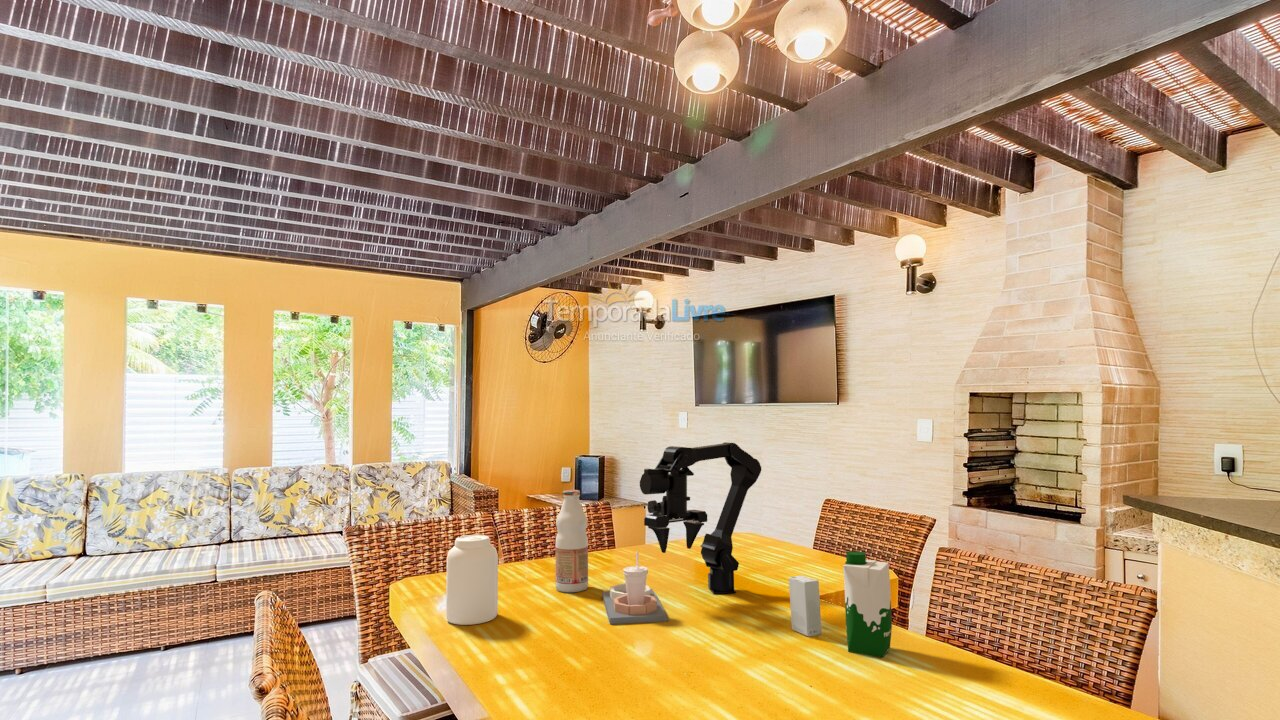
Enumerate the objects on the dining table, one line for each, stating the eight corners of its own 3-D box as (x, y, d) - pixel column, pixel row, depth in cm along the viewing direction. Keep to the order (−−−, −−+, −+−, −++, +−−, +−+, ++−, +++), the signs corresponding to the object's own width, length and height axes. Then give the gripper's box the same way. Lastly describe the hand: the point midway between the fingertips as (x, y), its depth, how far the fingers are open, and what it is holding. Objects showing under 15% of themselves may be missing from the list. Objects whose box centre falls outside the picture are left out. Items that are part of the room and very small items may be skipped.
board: (652, 594, 185) (652, 581, 186) (667, 621, 162) (667, 606, 162) (602, 596, 183) (602, 583, 184) (609, 624, 160) (609, 609, 160)
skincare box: (822, 634, 151) (821, 580, 152) (807, 637, 149) (805, 582, 150) (804, 626, 157) (803, 574, 157) (789, 629, 155) (788, 576, 155)
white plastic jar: (507, 617, 166) (507, 536, 168) (463, 629, 157) (464, 543, 159) (479, 607, 175) (479, 530, 176) (436, 618, 166) (437, 537, 167)
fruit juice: (557, 594, 187) (557, 493, 189) (554, 585, 196) (554, 489, 198) (590, 591, 189) (589, 492, 191) (585, 583, 198) (585, 488, 200)
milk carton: (853, 640, 147) (850, 548, 149) (896, 647, 142) (892, 552, 144) (842, 652, 140) (839, 555, 141) (887, 660, 135) (883, 560, 137)
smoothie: (641, 613, 163) (640, 555, 164) (618, 609, 166) (618, 552, 167) (653, 606, 169) (652, 550, 170) (631, 603, 172) (630, 548, 173)
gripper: (681, 487, 194) (681, 542, 193) (631, 492, 183) (631, 550, 181) (708, 491, 186) (708, 548, 184) (658, 496, 174) (657, 556, 173)
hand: (676, 550), depth 181 cm, fingers open, 9 cm apart
